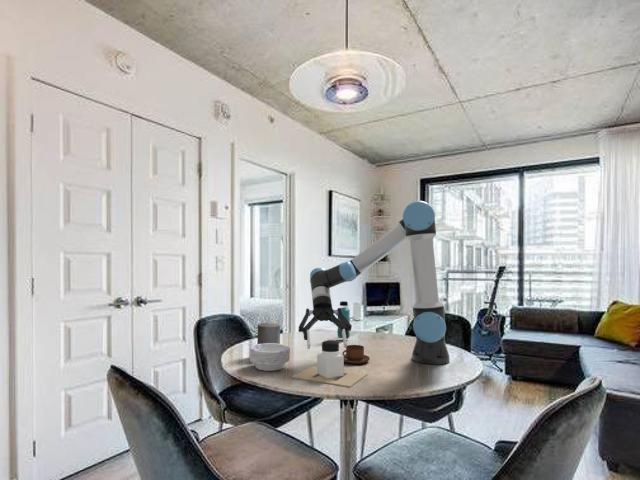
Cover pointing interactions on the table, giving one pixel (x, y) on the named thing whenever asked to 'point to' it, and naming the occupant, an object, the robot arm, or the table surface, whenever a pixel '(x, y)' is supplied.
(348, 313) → the beverage bottle
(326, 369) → the medicine bottle
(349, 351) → the cup and saucer
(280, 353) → the paper bowls
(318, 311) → the robot arm
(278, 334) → the pillar candle
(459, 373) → the table surface
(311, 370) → the letter card
